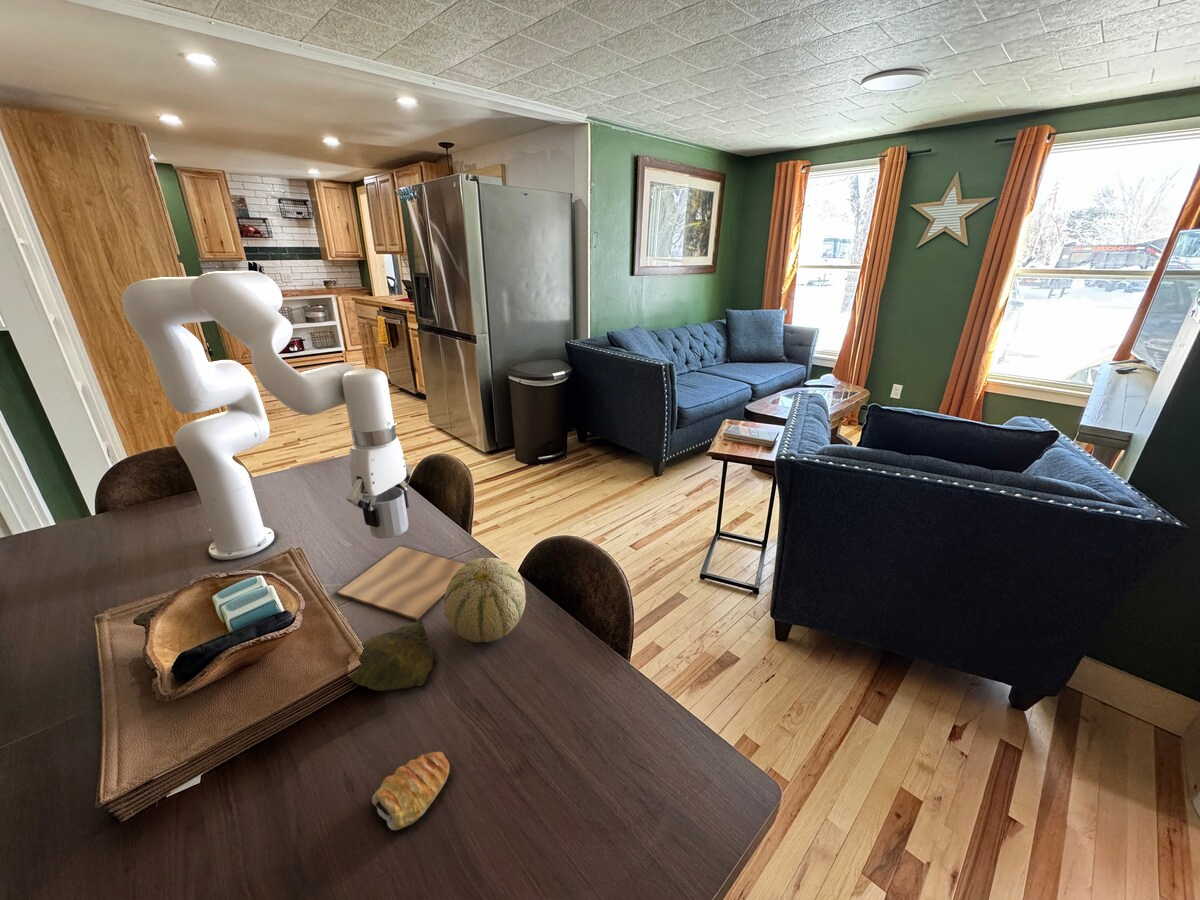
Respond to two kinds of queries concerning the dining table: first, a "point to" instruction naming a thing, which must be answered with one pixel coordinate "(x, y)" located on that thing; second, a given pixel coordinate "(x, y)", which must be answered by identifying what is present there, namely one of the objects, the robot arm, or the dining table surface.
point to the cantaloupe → (485, 600)
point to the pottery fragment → (395, 659)
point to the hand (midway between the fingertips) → (387, 515)
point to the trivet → (403, 582)
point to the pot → (390, 514)
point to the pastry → (411, 790)
